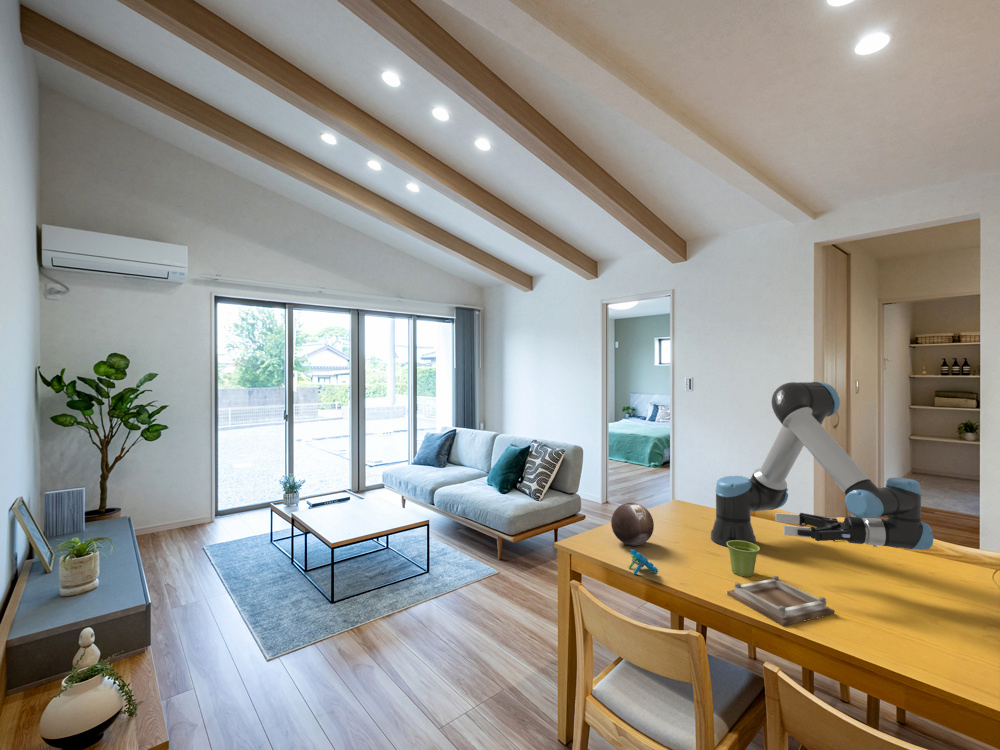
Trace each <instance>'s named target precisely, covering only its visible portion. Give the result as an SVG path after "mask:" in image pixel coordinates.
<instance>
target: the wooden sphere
mask: <svg viewBox="0 0 1000 750" xmlns="http://www.w3.org/2000/svg"><path fill="white" fill-rule="evenodd" d="M610 523H611V526H610V527H611V529H612V532H613V534H614V535H615V537H616V538H617V539H618V540H619V541H620V542H622V544H625V545H628V546H633V547H635V546H640V545H644V544H645V543H647V541H649V540H650V538H651V537H652V535H653V532H654V529H655V527H654V526H655V525H654V519H653V516H652V514H651V513H650V511H649V510H648V509H647V508H646V507H645V506H643V505H641V504H639V503H636V502H626V503H623V504H621V505H619V506H617V508H616V509H615V510H614V511H613V513H612V515H611V521H610Z"/></svg>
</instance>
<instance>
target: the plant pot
mask: <svg viewBox="0 0 1000 750" xmlns="http://www.w3.org/2000/svg"><path fill="white" fill-rule="evenodd" d="M726 547H727V549H728V551H729V552H728V553H729V558H730V566H731V567H730V568H731V572H732V573H733V574H736V575H737V576H739V577H740V576H742V577H745V578H746V577H750V576H754V574H755V568H756V567H755V566H756V563H757V562H756V561H757V556H758V554H759V552H760V550H761V548H760V546H759V545H758V544H756V545H755V544H753V543H750V542H746V541H740V540H732V541H728V542H727V546H726Z"/></svg>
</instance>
